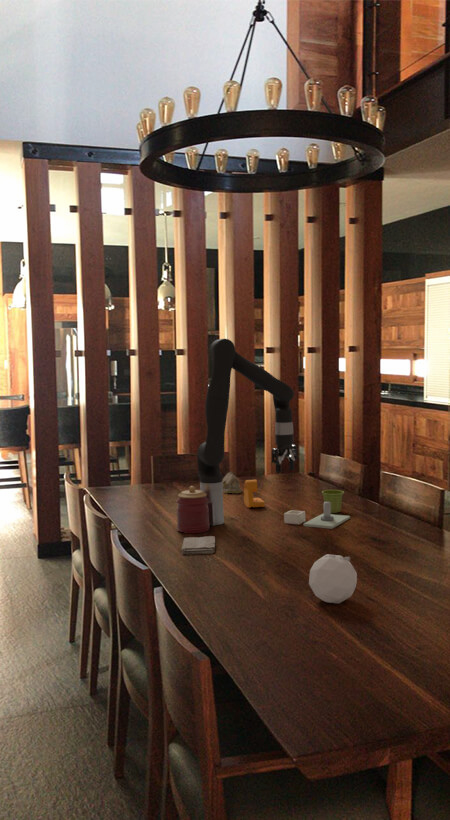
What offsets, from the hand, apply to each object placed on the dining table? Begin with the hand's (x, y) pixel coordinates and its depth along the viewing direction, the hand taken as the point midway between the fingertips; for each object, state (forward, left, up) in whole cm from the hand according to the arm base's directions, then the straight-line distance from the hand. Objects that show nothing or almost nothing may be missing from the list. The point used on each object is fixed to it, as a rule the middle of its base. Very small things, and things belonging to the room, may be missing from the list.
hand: (285, 471), depth 319 cm
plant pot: (+17, -14, -19) cm, 29 cm away
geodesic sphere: (-91, -57, -19) cm, 110 cm away
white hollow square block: (-7, -7, -19) cm, 22 cm away
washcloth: (-58, +8, -20) cm, 61 cm away
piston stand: (-2, -19, -19) cm, 27 cm away
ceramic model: (+42, +50, -20) cm, 68 cm away
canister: (-35, +24, -19) cm, 47 cm away
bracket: (+15, +23, -19) cm, 33 cm away
